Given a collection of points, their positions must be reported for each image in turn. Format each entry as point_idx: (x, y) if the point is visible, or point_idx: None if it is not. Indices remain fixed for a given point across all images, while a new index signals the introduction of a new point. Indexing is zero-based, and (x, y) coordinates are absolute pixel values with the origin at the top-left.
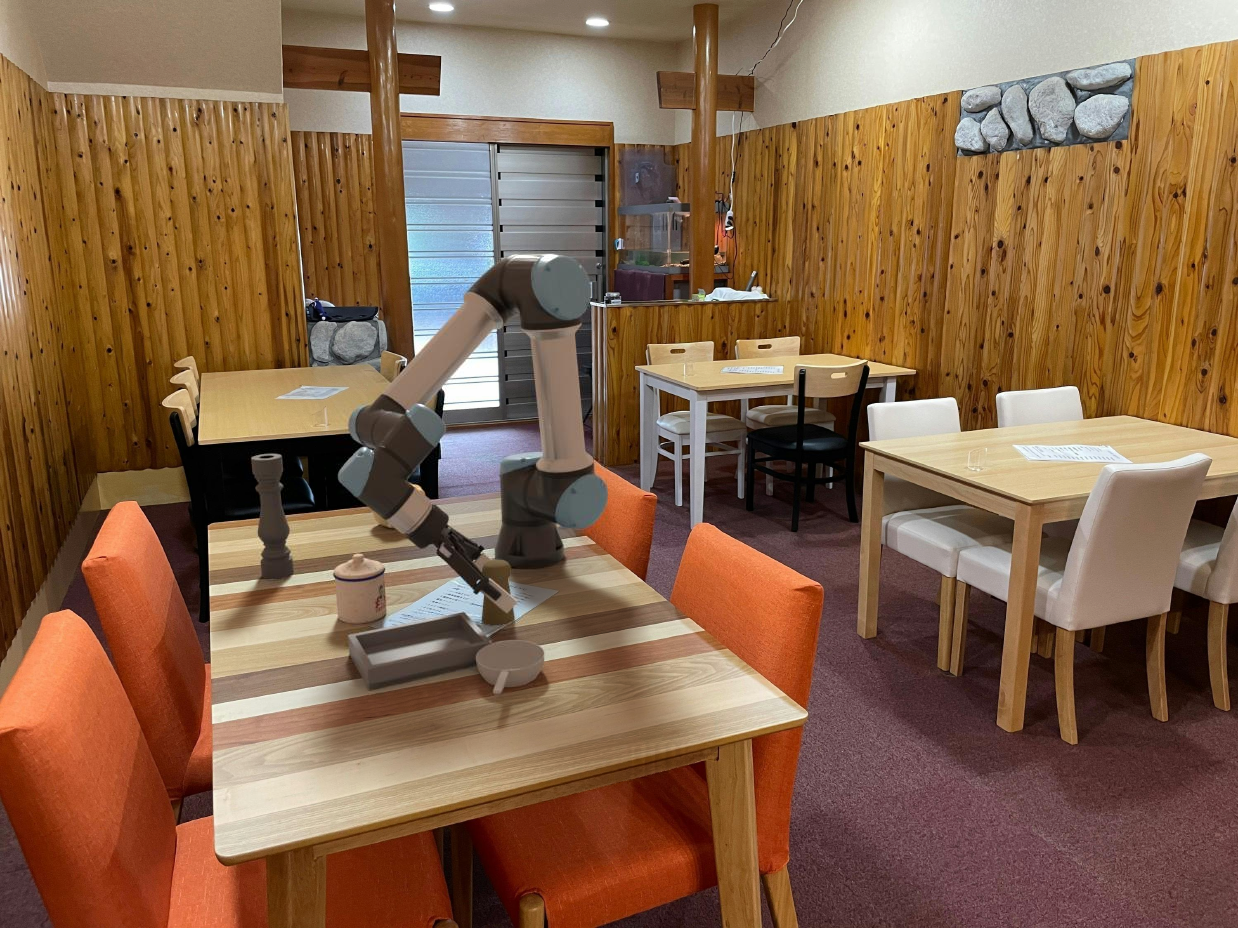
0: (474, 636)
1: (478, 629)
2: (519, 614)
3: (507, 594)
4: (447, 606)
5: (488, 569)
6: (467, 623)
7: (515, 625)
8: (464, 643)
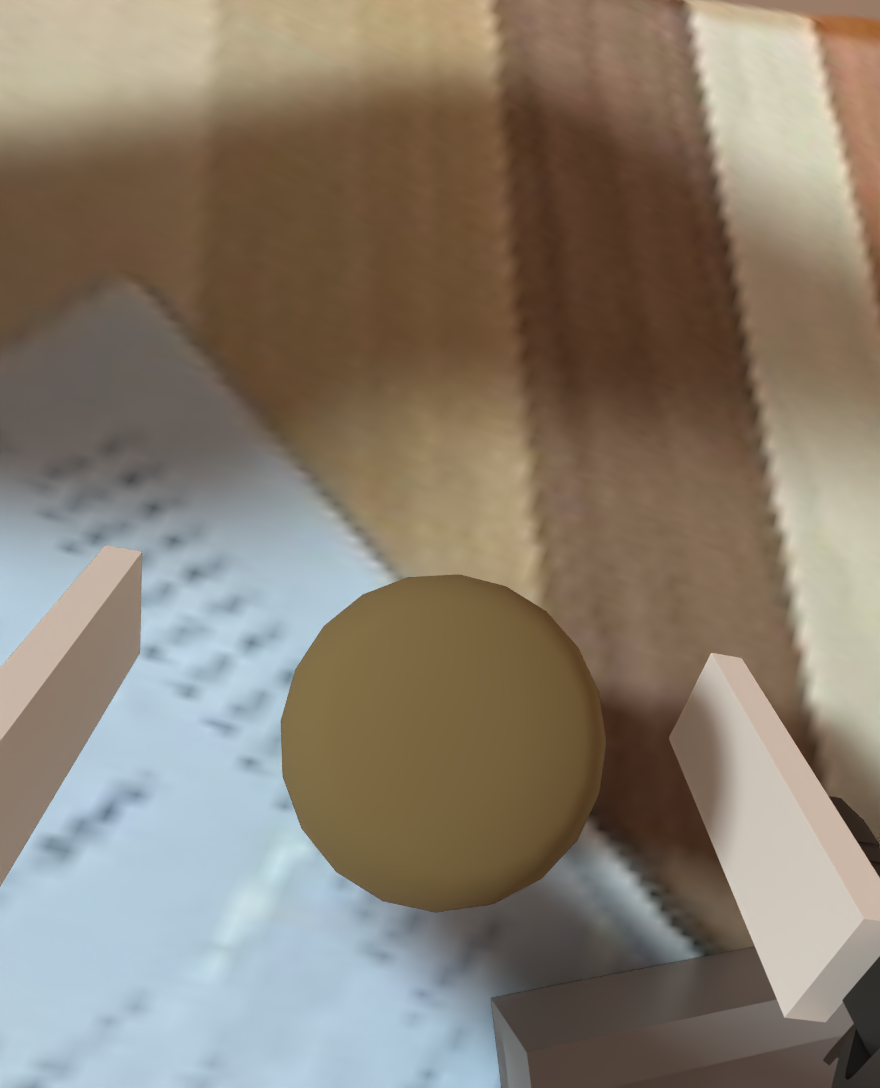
0: None
1: None
2: None
3: (784, 733)
4: (5, 1060)
5: (553, 858)
6: (723, 1057)
7: None
8: (774, 1065)
